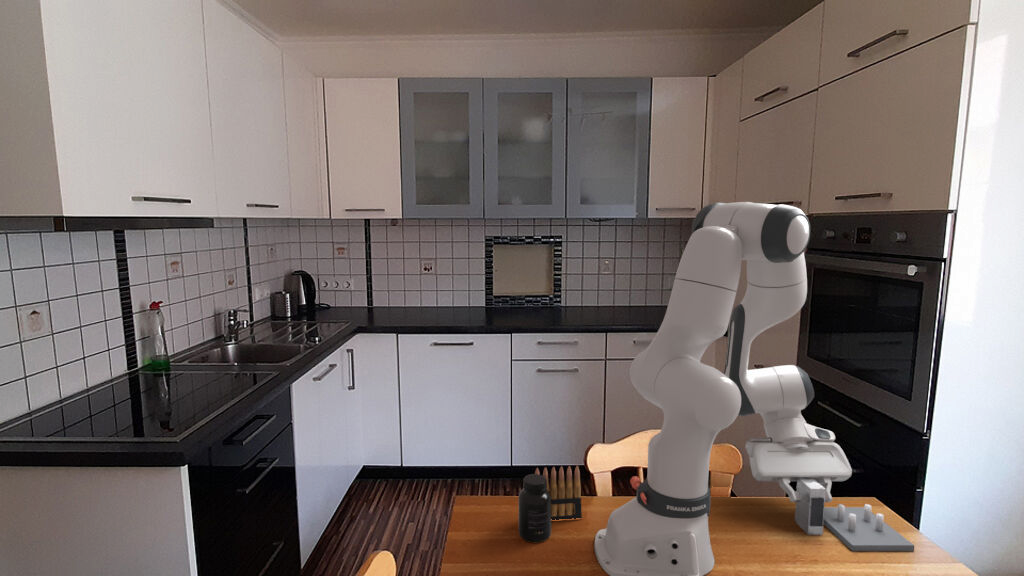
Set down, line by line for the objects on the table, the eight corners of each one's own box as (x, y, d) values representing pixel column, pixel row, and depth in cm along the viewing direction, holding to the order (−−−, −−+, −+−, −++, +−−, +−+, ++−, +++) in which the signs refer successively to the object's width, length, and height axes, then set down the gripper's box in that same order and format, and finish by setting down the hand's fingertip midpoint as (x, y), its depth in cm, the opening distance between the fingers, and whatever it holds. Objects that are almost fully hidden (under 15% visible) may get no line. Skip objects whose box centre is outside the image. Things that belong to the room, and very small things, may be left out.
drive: (808, 535, 105) (811, 489, 104) (794, 521, 110) (797, 477, 109) (823, 535, 105) (826, 489, 104) (808, 521, 110) (811, 477, 109)
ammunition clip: (579, 515, 113) (580, 463, 112) (581, 519, 111) (582, 467, 110) (532, 518, 112) (532, 466, 111) (533, 523, 110) (533, 470, 109)
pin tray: (852, 551, 100) (853, 529, 99) (811, 512, 114) (812, 493, 113) (913, 551, 100) (915, 529, 99) (865, 512, 114) (866, 493, 113)
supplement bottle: (515, 527, 108) (515, 473, 107) (545, 523, 110) (546, 469, 109) (523, 546, 102) (523, 488, 101) (555, 541, 103) (556, 484, 102)
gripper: (748, 432, 113) (767, 496, 104) (840, 432, 113) (868, 496, 104) (738, 443, 118) (756, 506, 109) (827, 443, 118) (852, 506, 109)
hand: (811, 501), depth 107 cm, fingers open, 5 cm apart
